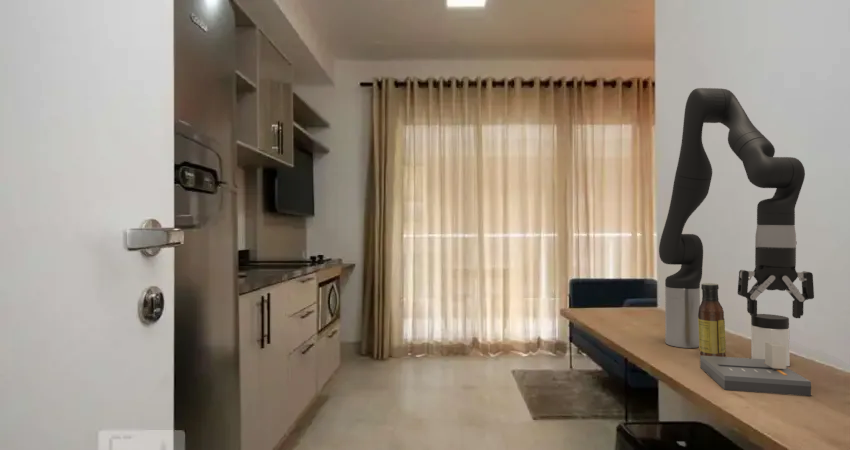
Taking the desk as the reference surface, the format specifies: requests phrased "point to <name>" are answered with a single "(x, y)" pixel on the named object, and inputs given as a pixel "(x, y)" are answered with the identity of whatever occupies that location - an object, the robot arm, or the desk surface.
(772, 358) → the fader tab
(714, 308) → the sauce bottle
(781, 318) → the jar
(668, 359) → the desk surface
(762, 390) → the fader console
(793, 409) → the desk surface
